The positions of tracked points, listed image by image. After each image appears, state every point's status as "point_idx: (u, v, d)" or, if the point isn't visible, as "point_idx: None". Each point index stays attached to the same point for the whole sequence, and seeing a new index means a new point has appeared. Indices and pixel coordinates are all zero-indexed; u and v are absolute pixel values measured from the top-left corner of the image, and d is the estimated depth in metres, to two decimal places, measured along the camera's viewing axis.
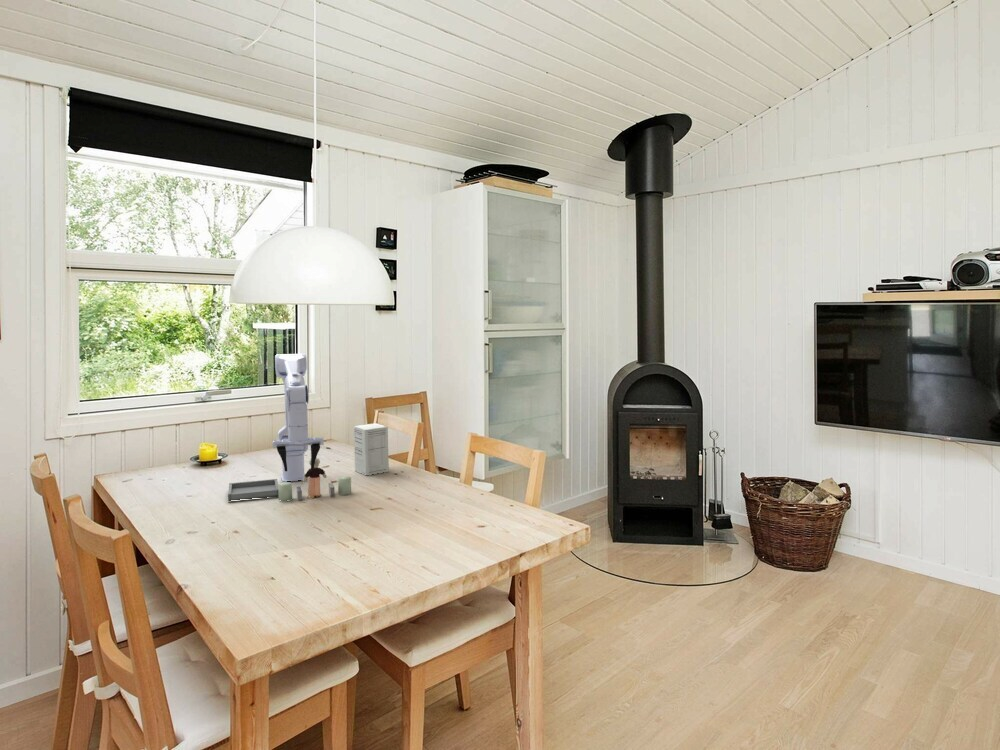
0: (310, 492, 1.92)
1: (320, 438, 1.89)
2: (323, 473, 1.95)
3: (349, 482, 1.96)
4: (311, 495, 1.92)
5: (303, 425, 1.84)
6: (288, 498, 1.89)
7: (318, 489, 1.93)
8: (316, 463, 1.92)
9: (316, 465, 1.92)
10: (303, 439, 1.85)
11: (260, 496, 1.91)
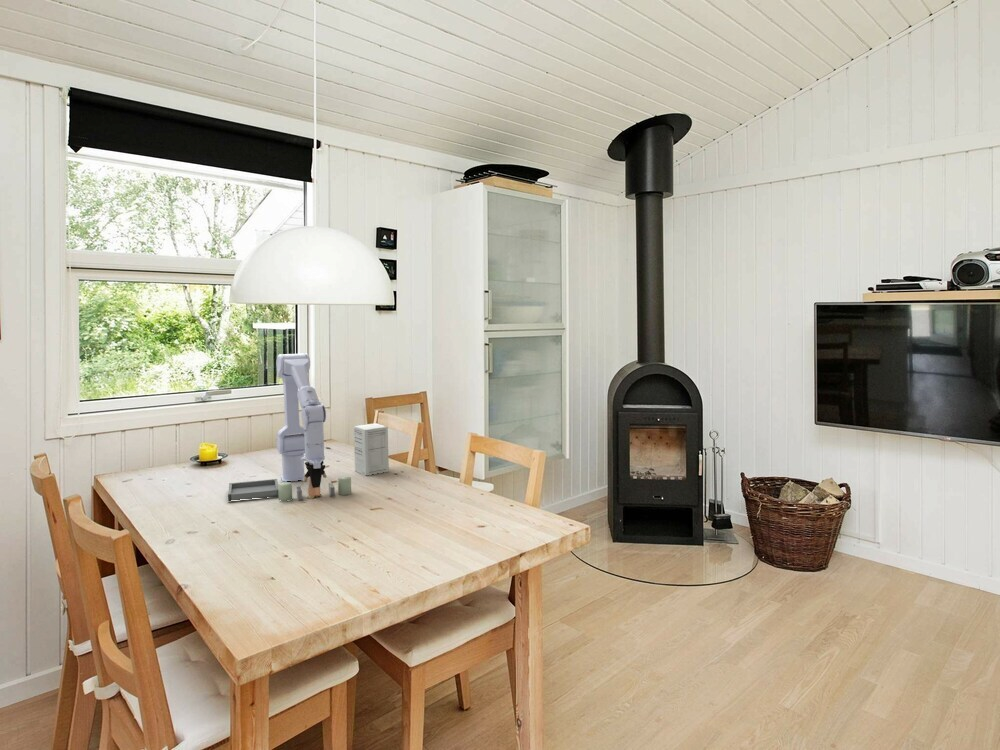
0: (310, 492, 1.92)
1: (316, 462, 1.87)
2: (323, 473, 1.95)
3: (349, 482, 1.96)
4: (311, 495, 1.92)
5: (321, 443, 1.91)
6: (288, 498, 1.89)
7: (318, 489, 1.93)
8: None
9: None
10: (306, 457, 1.91)
11: (260, 496, 1.91)
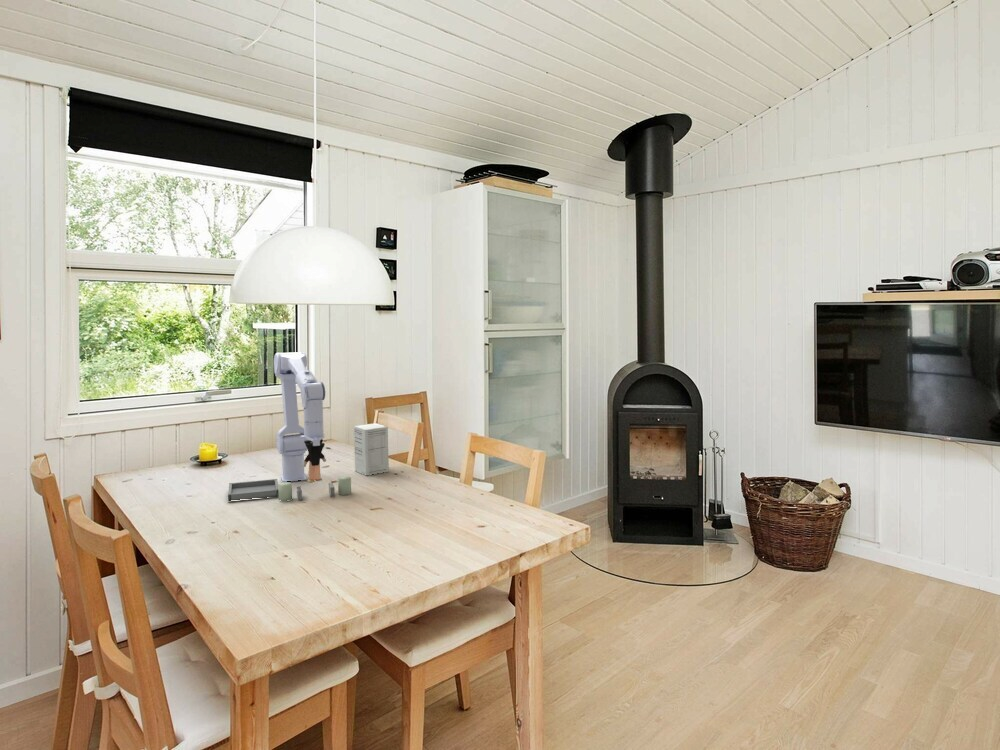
0: (310, 476, 1.92)
1: (315, 439, 1.86)
2: (323, 457, 1.95)
3: (349, 482, 1.96)
4: (311, 479, 1.92)
5: (320, 421, 1.90)
6: (288, 498, 1.89)
7: (318, 473, 1.92)
8: None
9: None
10: (305, 435, 1.90)
11: (260, 496, 1.91)
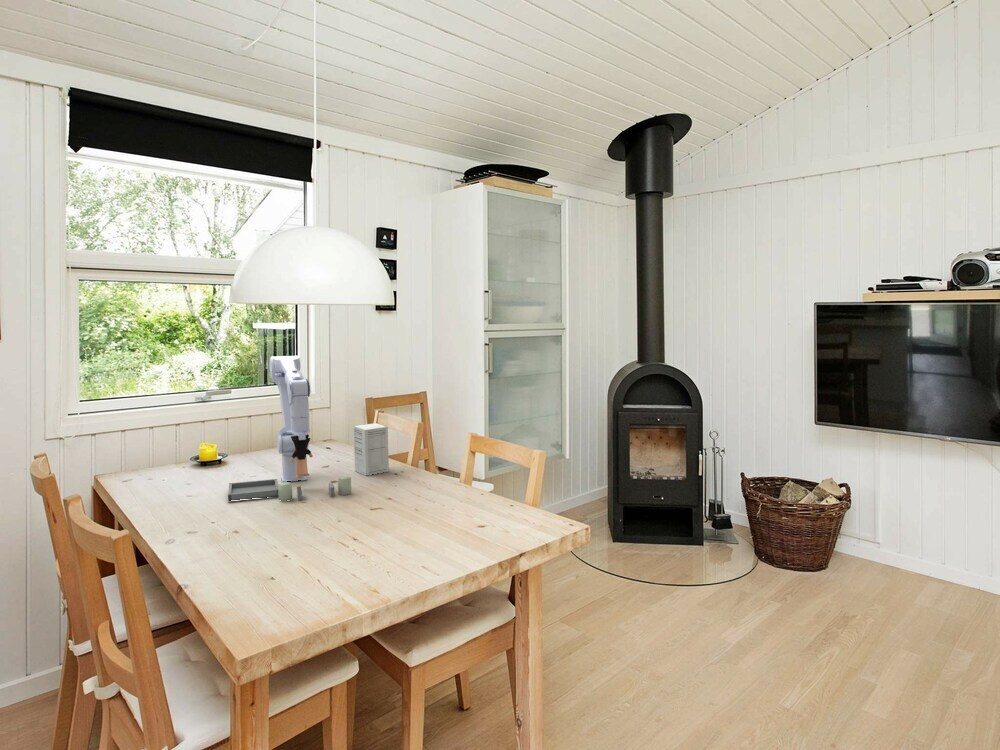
0: (298, 472, 2.00)
1: (301, 433, 1.94)
2: (309, 453, 2.02)
3: (349, 482, 1.96)
4: (299, 474, 1.99)
5: (305, 416, 1.98)
6: (288, 498, 1.89)
7: (305, 468, 2.00)
8: None
9: None
10: (292, 430, 1.98)
11: (260, 496, 1.91)
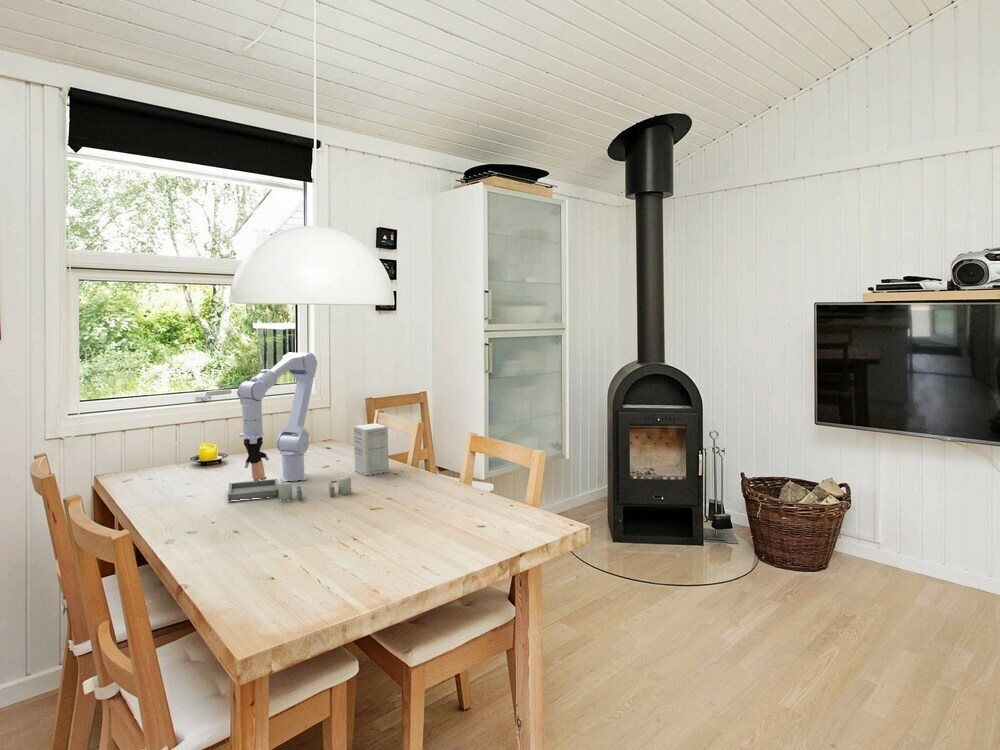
0: (254, 476, 1.95)
1: (252, 437, 1.89)
2: (265, 456, 1.97)
3: (349, 482, 1.96)
4: (256, 479, 1.95)
5: (250, 420, 1.91)
6: (288, 498, 1.89)
7: (262, 472, 1.95)
8: None
9: None
10: (244, 433, 1.92)
11: (260, 496, 1.91)
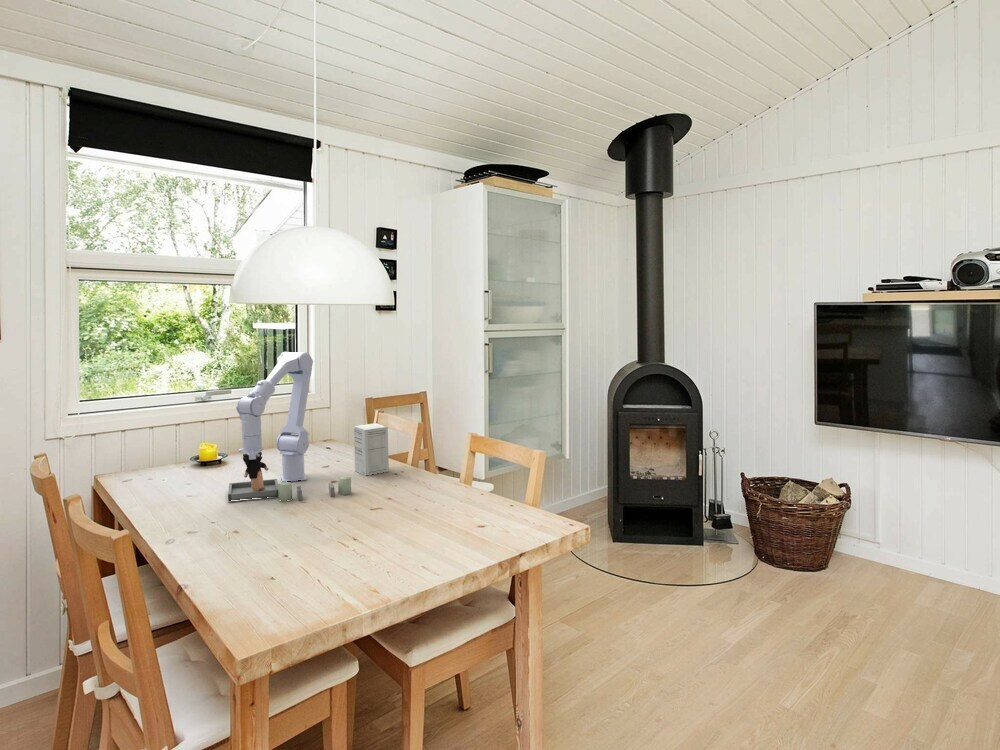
0: (253, 486, 1.95)
1: (252, 453, 1.89)
2: (264, 466, 1.98)
3: (349, 482, 1.96)
4: (254, 489, 1.95)
5: (249, 435, 1.92)
6: (288, 498, 1.89)
7: (261, 482, 1.96)
8: None
9: None
10: (243, 449, 1.93)
11: (260, 496, 1.91)
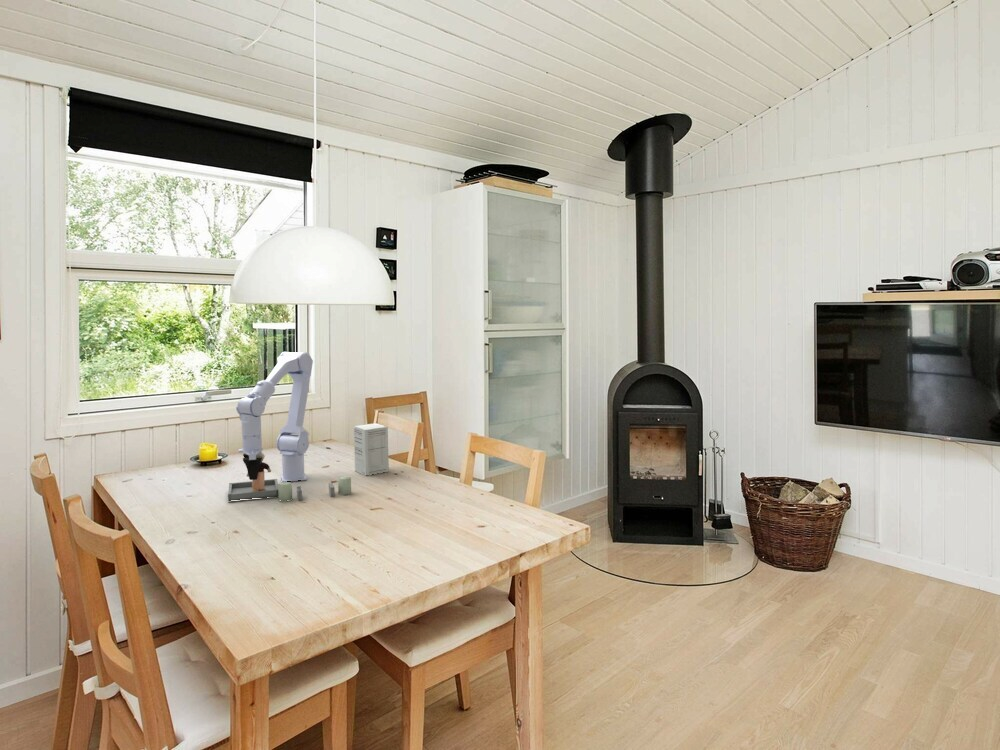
0: (254, 486, 1.96)
1: (252, 453, 1.89)
2: (268, 468, 1.98)
3: (349, 482, 1.96)
4: (255, 489, 1.95)
5: (249, 436, 1.92)
6: (288, 498, 1.89)
7: (262, 483, 1.96)
8: None
9: None
10: (243, 449, 1.93)
11: (260, 496, 1.91)
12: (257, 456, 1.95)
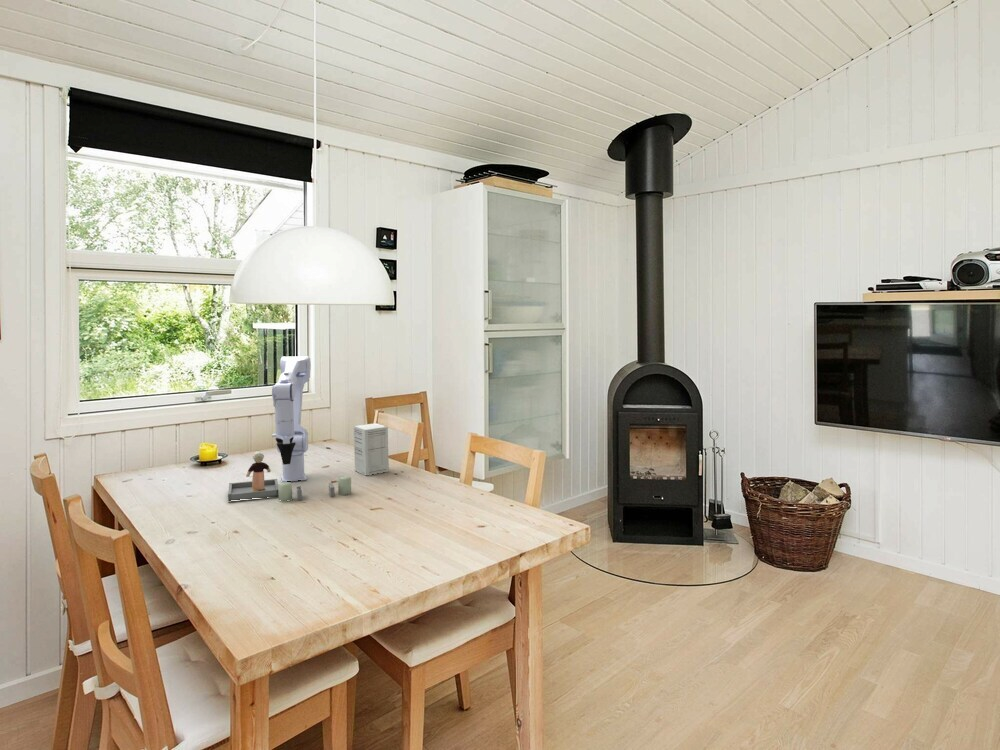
0: (254, 486, 1.96)
1: (285, 437, 1.93)
2: (267, 468, 1.98)
3: (349, 482, 1.96)
4: (255, 489, 1.95)
5: (287, 420, 1.97)
6: (288, 498, 1.89)
7: (262, 483, 1.96)
8: (260, 458, 1.95)
9: (260, 460, 1.95)
10: (276, 433, 1.97)
11: (260, 496, 1.91)
12: (257, 456, 1.95)
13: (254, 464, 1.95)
